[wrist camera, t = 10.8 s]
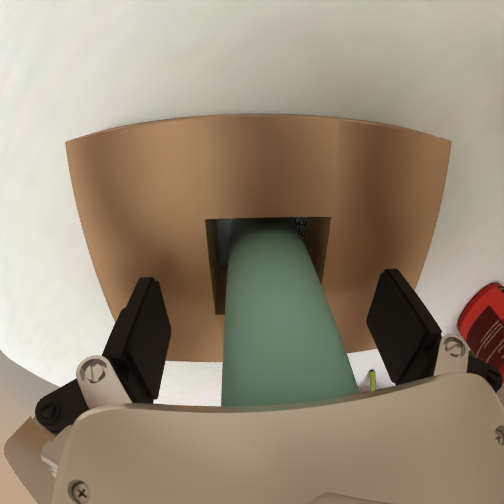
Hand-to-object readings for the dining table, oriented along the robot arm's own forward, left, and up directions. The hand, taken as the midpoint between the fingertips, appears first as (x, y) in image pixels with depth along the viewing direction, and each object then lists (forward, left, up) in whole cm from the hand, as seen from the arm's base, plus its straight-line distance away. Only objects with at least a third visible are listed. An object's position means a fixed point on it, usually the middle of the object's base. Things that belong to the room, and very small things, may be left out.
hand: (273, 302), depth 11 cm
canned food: (-26, +10, -7) cm, 29 cm away
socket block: (0, 0, -7) cm, 7 cm away
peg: (0, 0, -7) cm, 7 cm away
